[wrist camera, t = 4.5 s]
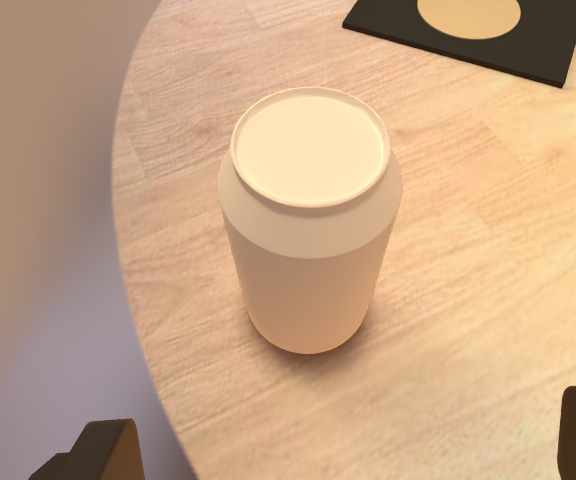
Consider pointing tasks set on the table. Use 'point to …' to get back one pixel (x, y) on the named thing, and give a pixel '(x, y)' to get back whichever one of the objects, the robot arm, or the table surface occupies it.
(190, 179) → the table surface
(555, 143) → the table surface
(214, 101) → the table surface
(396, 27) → the mat
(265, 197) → the beverage can
